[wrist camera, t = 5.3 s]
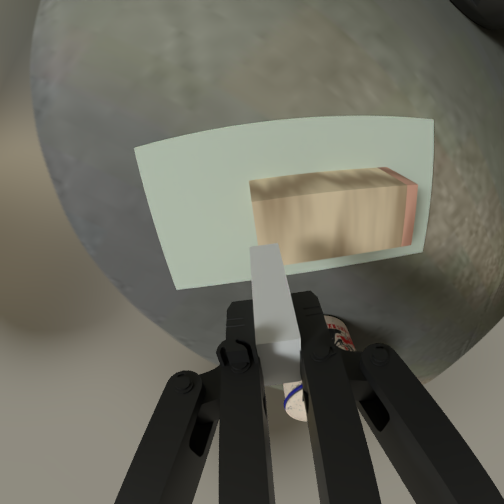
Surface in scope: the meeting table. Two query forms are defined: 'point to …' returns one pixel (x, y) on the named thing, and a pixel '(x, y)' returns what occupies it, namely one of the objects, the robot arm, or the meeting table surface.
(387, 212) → the oak block
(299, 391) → the teacup with lid
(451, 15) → the meeting table surface
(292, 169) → the rubber mat
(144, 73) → the meeting table surface
